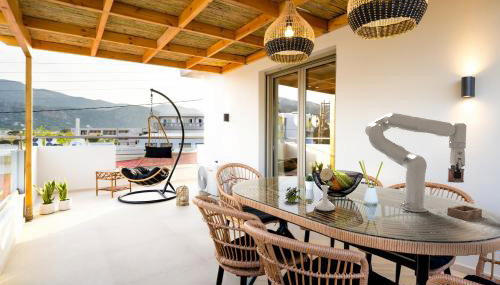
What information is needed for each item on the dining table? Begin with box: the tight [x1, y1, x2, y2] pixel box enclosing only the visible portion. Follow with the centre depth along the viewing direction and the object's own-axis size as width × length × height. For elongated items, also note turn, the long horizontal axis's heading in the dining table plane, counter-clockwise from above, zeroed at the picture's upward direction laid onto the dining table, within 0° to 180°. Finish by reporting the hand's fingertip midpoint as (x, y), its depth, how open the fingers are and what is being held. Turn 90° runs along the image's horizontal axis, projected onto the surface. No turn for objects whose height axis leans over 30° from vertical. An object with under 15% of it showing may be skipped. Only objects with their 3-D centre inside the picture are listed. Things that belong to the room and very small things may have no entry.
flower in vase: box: [314, 167, 336, 212], centre depth 162 cm, size 13×11×25 cm
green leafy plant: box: [284, 186, 302, 204], centre depth 182 cm, size 11×11×12 cm
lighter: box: [447, 164, 465, 184], centre depth 157 cm, size 8×3×10 cm, turn 85°
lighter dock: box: [446, 204, 483, 221], centre depth 150 cm, size 13×9×4 cm
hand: (456, 177), depth 157 cm, fingers closed on lighter, 4 cm apart
